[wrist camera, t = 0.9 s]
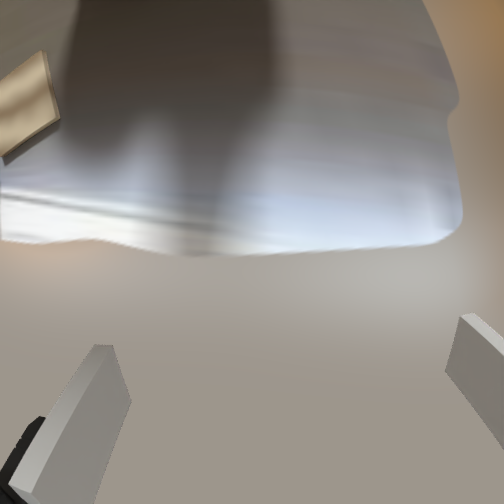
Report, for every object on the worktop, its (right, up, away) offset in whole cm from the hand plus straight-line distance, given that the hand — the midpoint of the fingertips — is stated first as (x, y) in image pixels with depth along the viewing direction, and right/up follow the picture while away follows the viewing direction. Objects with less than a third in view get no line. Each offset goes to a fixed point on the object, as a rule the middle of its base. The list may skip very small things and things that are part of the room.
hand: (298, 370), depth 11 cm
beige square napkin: (-33, +24, +21) cm, 45 cm away
